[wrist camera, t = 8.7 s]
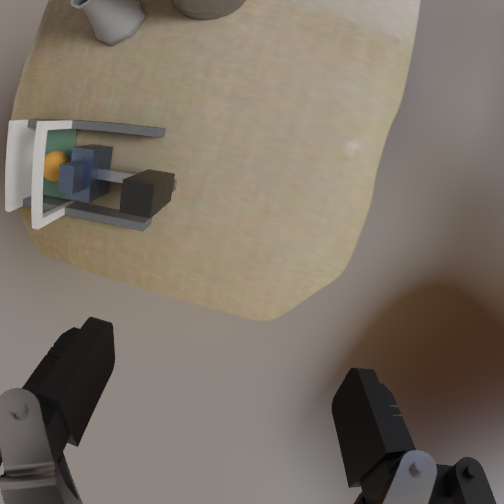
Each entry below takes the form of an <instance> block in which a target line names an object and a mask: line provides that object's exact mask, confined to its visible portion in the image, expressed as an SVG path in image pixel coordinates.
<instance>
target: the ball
mask: <svg viewBox="0 0 504 504" xmlns="http://www.w3.org/2000/svg"><path fill="white" fill-rule="evenodd" d="M68 162H69V160H68V157H67V156H66V154H64V153H63V152H61V151H52V152H50V153H48V154H47V155H46V156H45V160H44V175H43V176H44V177H45V178H46V179H48V180H50V181H58V180H59V170H60V164H63V163H68Z"/></svg>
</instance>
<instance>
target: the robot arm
mask: <svg viewBox="0 0 504 504" xmlns="http://www.w3.org/2000/svg"><path fill="white" fill-rule="evenodd" d="M172 1H173V2H174V4H175V5H176V7H177V8H178V9H179V10H180V11H181V12H182V13H183V14H185V15H186V16H189V17H192V18H195V19H204V20H209V19H216V18H220V17H223V16H226V15H228V14H230V13H232V12H234V11H235V10H237V9H238V8H239V7H240V6H241V5H242V4H243V3H244V1H245V0H172ZM114 363H115V350H114V335H113V325H112V323H111V322H107V321H104V320H100V319H97V318H94V317H89V318H88V319H87V321H86V322H85V323H84V325H83V326H82V327H81V329H78V328H75V327H73V328H72V329H70V330H68V331H66V332H65V333H63V334H62V335H61V336H60V337H59V339H58V340H57V341H56V342H55V344H54V346H53V347H51V349H50V350H49V351H48V353H47V355H45V357H44V358H43V360H42V361H41V362H40V364H39V365H38V366H37V368H36V369H35V371H34V372H33V374H32V375H31V376H30V378H29V379H28V381H27V382H26V384H25V385H24V386H23V387H22V388H14V389H10V390H7V391H6V392H4V393H3V394H2V395H1V396H0V466H1V463H2V461H3V465H4V474H3V475H1V476H0V488H1V492H2V496H3V500H4V504H83V503H82V501H81V498H80V496H79V494H78V491H77V489H76V486H75V484H74V481H73V479H72V476H71V473H70V470H69V468H68V465H67V462H66V459H65V456H64V453H63V450H64V448H65V446H66V444H67V443H70V444H72V445H74V446H77V447H78V445H79V443H80V441H81V438H82V436H83V434H84V431H85V429H86V427H87V425H88V423H89V420H90V418H91V416H92V413H93V411H94V409H95V407H96V405H97V403H98V401H99V399H100V397H101V394H102V392H103V390H104V388H105V386H106V384H107V382H108V380H109V378H110V376H111V374H112V371H113V368H114ZM332 414H333V419H334V422H335V427H336V431H337V436H338V440H339V444H340V449H341V454H342V458H343V463H344V467H345V472H346V477H347V481H348V486H349V488H350V487H360V486H361V487H362V492H361V493H360V494H359V496H358V497H357V499H356V501H355V502H354V504H496V502H495V499H494V496H493V493H492V491H491V488H490V485H489V483H488V480H487V477H486V475H485V473H484V470H483V468H482V466H481V464H480V463H479V462H478V461H477V460H475V459H473V458H470V457H464V458H462V459H460V460H459V461H458V462H457V463H456V464H455V465H454V466H448V465H439V464H435V462H434V460H433V459H432V457H431V456H429V455H428V454H427V453H425V452H422V451H418V450H416V448H415V446H414V444H413V441H412V439H411V436H410V434H409V431H408V429H407V426H406V424H405V422H404V419H403V417H402V416H401V413H400V410H399V408H398V407H397V403H396V401H395V399H394V396H393V394H392V393H391V392H390V390H389V389H388V388H387V387H386V386H385V385H384V384H381V383H380V382H379V380H378V377H377V375H376V373H375V371H374V370H373V369H366V368H351V369H350V370H349V372H348V373H347V375H346V377H345V379H344V380H343V382H342V384H341V386H340V388H339V389H338V391H337V392H336V394H335V396H334V398H333V402H332Z"/></svg>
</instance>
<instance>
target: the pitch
mask: <svg viewBox="0 0 504 504" xmlns="http://www.w3.org/2000/svg"><path fill="white" fill-rule="evenodd" d="M77 129H84V130H97V131H108V132H118V133H127V134H135V135H144V136H151V137H164V134H165V128H157V127H149V126H141V125H132V124H122V123H111V122H99V121H83V120H61V119H26V120H10V121H9V129H8V138H7V150H6V168H5V210H6V211H8V212H11V211H13V210H15V209H17V208H20V207H22V206H26V207H30V208H31V212H32V228H34V229H40V228H42V227H43V226H45V225H47V224H49V223H50V222H52V221H54V220H56V219H58V218H59V217H61V216H63V215H68V216H73V217H78V218H82V219H87V220H92V221H97V222H101V223H106V224H111V225H116V226H120V227H125V228H130V229H135V230H139V231H144V230H145V229H146V228H147V227H148V226H149V225H150V224H151V219H152V217H151V218H145V217H140V216H135V215H130V214H125V213H120V210H117V209H112V208H107V207H101V206H96V205H91V204H86V203H80V202H75V201H70V199H69V200H64V199H68V195H69V194H66V193H60V192H58V185H59V180H58V181H50V180H48V179H46V178H45V177H44V176H43V175H44V160H45V156H46V155H47V154H48V153H50V152H52V151H61V152H63V153H64V154H66V156H67V157H68V160H69V162H71V156H72V147H75V142H76V135H77ZM43 195H48V196H53V197H48V196H43ZM54 197H59V198H64V199H59V198H54ZM43 210H44V211H48V212H46V213H44V214H43Z"/></svg>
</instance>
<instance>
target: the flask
mask: <svg viewBox="0 0 504 504" xmlns="http://www.w3.org/2000/svg"><path fill="white" fill-rule="evenodd" d="M70 5H71V7H73V8H77V9H81V10H82V11H83V12H84V13H85V14H86V15H87V16H88V19H89V21H90V23H91V25H92V28H93V30H94V33H95V35H96V38H97V40H99V41H102V42H104V43H106V44H109V45H111V46H114V45H115V44H117V43H119V42H121V41H123V40H124V39H126V38H128V37H130V36H132V35H133V34H134V32H135V31H136V29H137V28H138V27H139V25H140V24H141V22H142V21H143V20H144V18H145V15H144V12H143V9H142V6H141V4H140V2H138V1H135V0H70Z"/></svg>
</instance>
